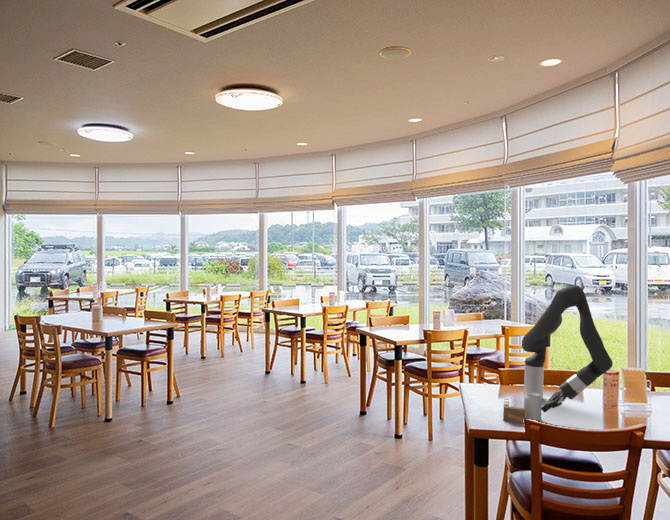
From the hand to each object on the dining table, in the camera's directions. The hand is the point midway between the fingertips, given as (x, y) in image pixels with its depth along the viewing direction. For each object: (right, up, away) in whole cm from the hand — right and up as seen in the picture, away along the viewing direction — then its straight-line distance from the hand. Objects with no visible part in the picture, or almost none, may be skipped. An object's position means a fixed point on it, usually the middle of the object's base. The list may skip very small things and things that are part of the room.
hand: (542, 410), depth 228 cm
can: (-4, -5, +2) cm, 7 cm away
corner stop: (-11, -4, +4) cm, 13 cm away
